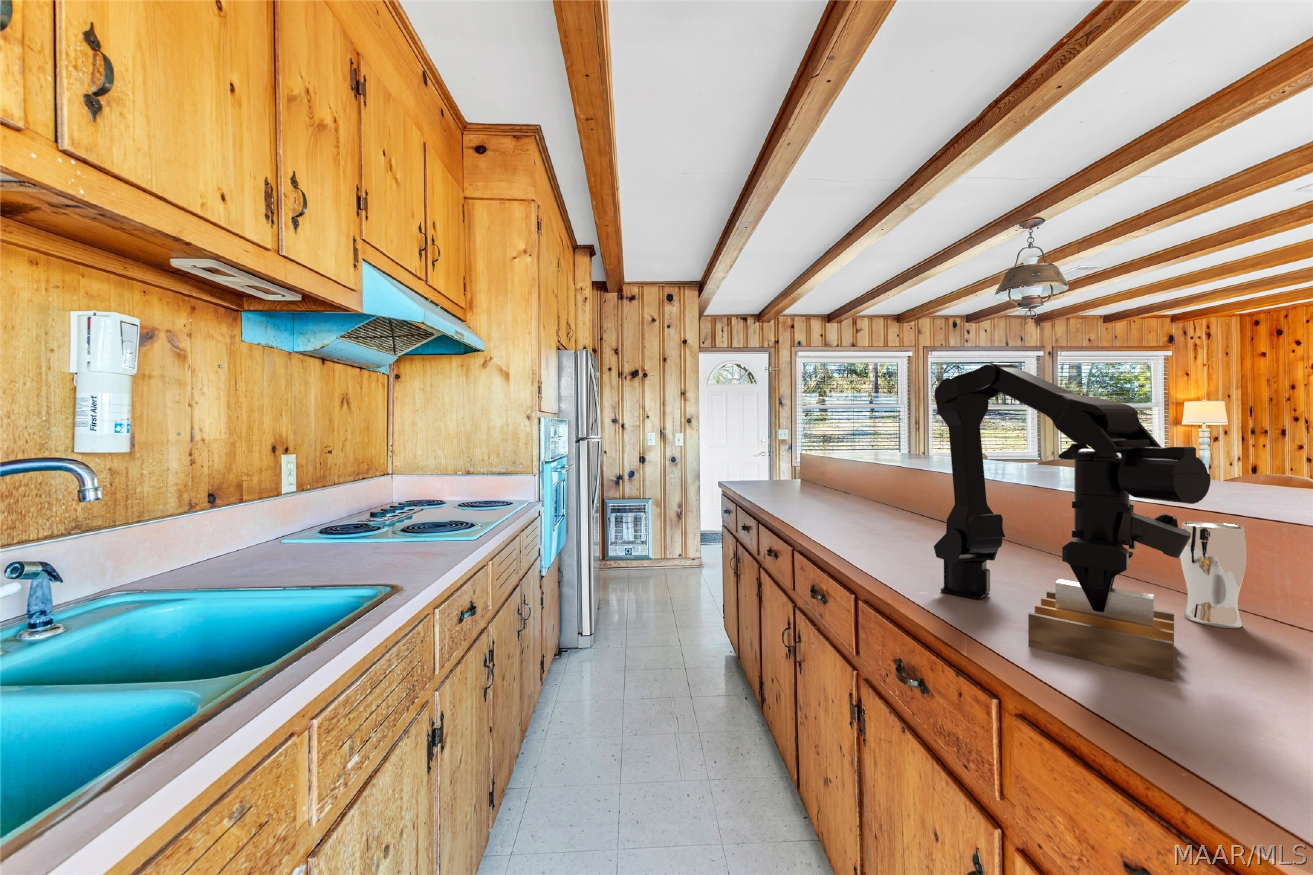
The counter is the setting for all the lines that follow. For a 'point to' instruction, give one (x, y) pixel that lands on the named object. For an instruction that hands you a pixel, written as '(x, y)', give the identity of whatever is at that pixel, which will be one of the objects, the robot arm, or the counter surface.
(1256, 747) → the counter surface
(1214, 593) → the beer glass
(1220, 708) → the counter surface
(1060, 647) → the walnut rack
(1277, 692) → the counter surface
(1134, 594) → the aluminium panel
